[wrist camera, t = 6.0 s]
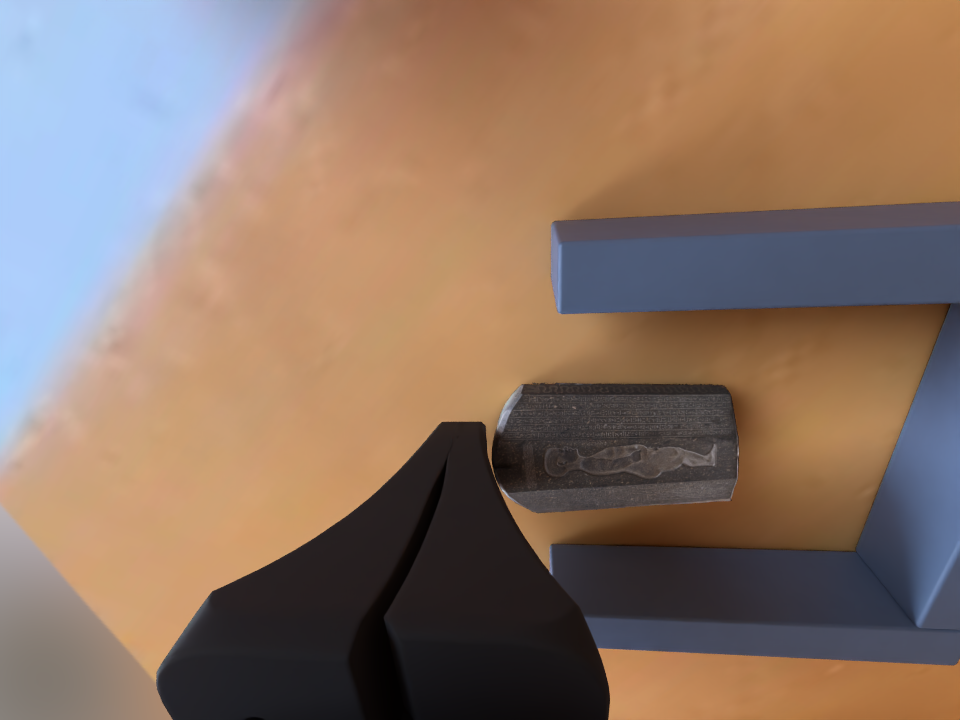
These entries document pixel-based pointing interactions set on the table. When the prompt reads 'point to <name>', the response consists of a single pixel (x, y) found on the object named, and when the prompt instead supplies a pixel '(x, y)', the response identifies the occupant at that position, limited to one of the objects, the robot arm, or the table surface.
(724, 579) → the bay
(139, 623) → the table surface
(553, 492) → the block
